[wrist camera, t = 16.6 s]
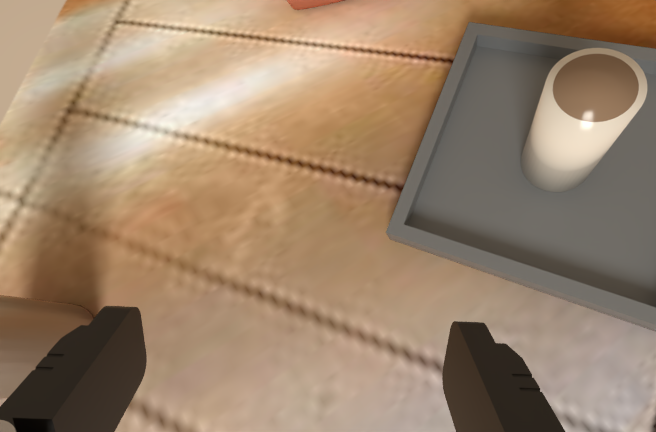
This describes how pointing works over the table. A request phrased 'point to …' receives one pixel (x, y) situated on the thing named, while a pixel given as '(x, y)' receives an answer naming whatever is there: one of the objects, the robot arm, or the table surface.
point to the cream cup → (581, 116)
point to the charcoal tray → (523, 197)
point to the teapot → (310, 3)
